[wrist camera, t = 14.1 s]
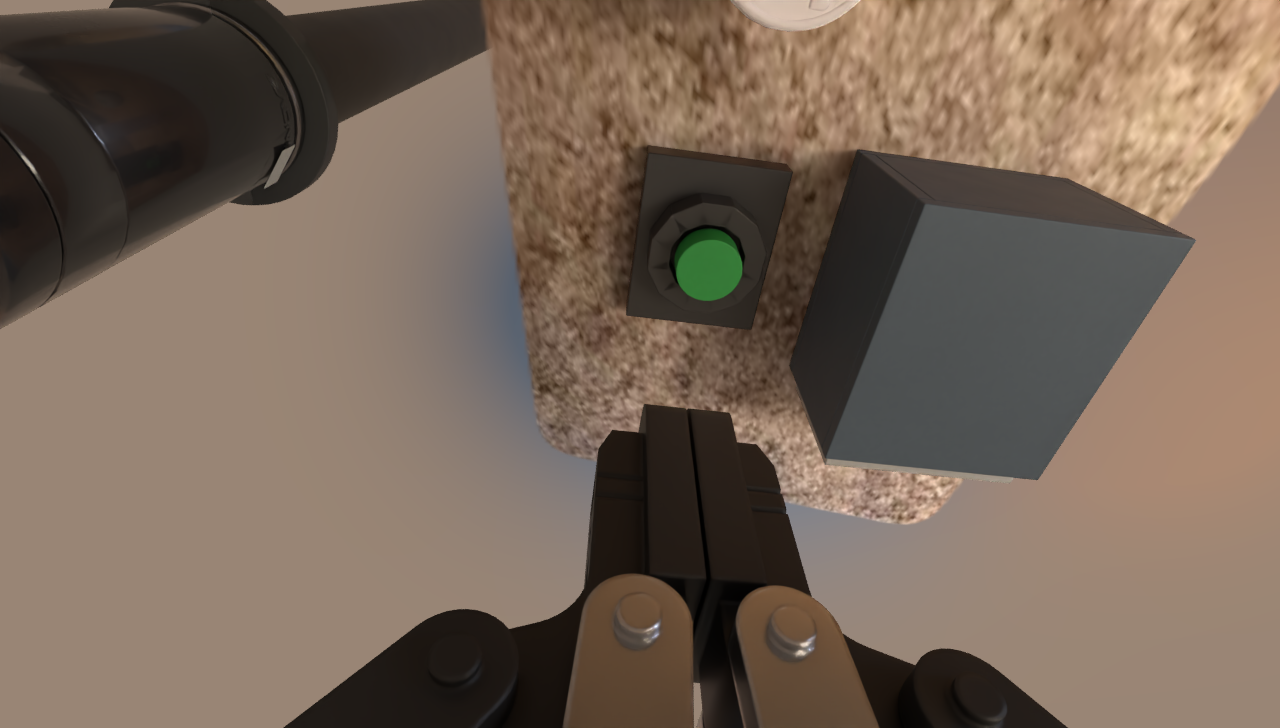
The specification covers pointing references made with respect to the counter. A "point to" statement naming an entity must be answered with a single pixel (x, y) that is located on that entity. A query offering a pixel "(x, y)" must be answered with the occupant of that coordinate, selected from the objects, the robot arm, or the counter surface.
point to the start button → (708, 264)
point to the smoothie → (794, 12)
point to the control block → (699, 199)
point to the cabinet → (971, 313)
